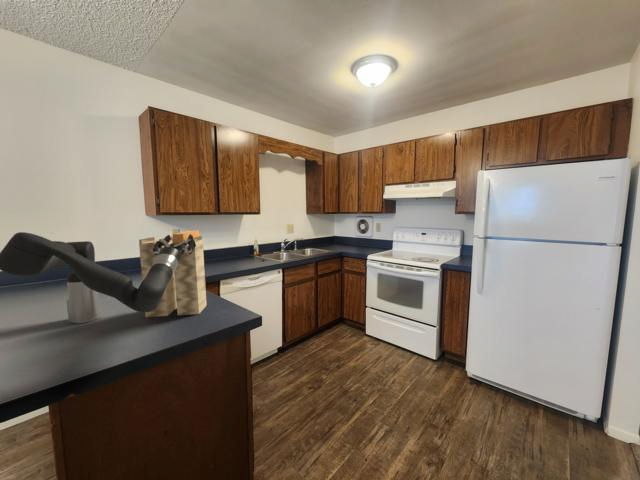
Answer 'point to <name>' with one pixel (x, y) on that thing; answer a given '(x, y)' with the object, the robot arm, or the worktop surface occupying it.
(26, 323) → the worktop surface
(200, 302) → the post
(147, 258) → the rosette post
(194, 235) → the bracket bar
